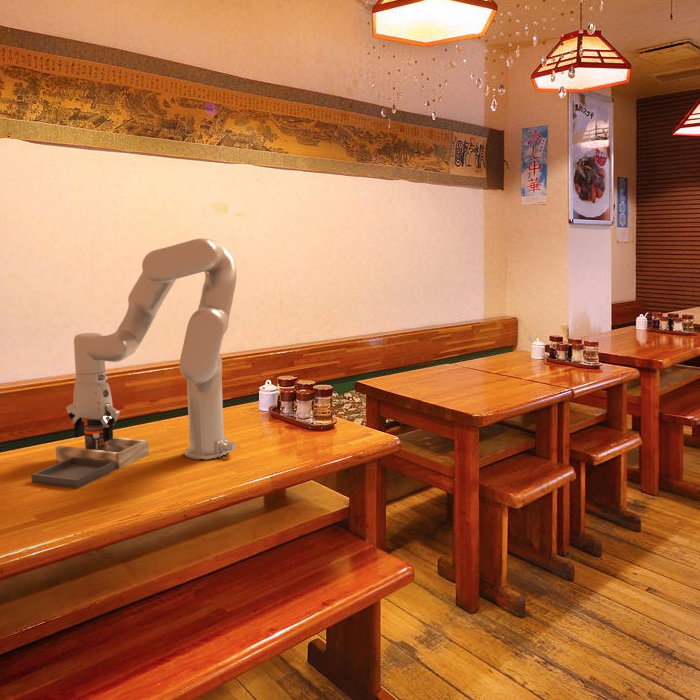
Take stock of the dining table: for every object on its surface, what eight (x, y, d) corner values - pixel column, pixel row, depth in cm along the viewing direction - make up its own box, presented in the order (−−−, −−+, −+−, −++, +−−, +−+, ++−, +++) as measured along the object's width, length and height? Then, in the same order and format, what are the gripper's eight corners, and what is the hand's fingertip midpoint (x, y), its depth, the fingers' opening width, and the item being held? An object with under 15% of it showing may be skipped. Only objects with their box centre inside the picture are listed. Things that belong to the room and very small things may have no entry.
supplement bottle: (103, 460, 170) (100, 420, 168) (82, 460, 170) (79, 420, 168) (112, 453, 176) (109, 414, 174) (91, 453, 176) (88, 415, 174)
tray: (116, 469, 163) (115, 461, 162) (77, 488, 150) (76, 480, 149) (73, 464, 167) (72, 456, 167) (32, 482, 154) (31, 474, 154)
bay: (148, 454, 175) (148, 440, 174) (119, 468, 163) (118, 454, 163) (88, 447, 182) (87, 434, 181) (56, 460, 170) (55, 446, 169)
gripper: (126, 378, 170) (128, 437, 173) (75, 373, 176) (78, 431, 178) (107, 383, 163) (110, 445, 166) (55, 378, 169) (59, 438, 171)
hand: (93, 438), depth 172 cm, fingers open, 9 cm apart
